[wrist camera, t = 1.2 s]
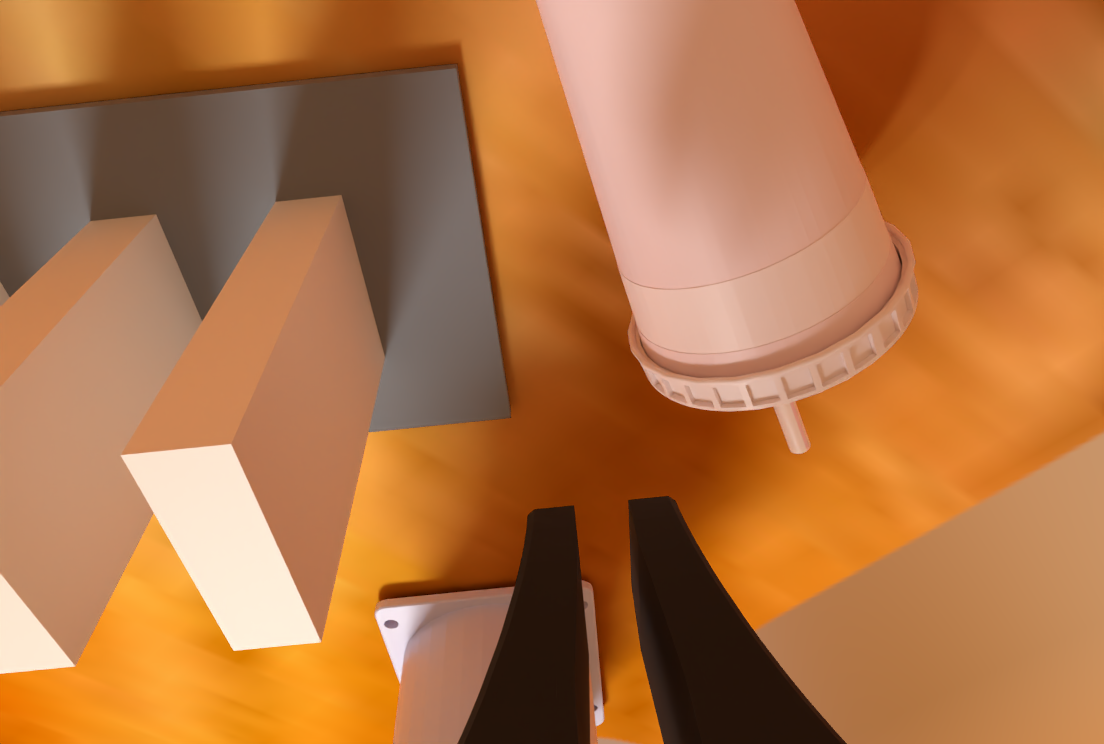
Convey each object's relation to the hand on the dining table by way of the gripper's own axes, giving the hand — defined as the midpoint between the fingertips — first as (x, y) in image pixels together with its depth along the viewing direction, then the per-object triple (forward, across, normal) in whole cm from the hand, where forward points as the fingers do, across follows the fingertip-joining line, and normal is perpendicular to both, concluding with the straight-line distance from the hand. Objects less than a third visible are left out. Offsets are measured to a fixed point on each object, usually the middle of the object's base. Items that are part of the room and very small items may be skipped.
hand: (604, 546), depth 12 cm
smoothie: (+7, -1, -9) cm, 11 cm away
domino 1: (+10, +10, 0) cm, 14 cm away
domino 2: (+10, +6, 0) cm, 11 cm away
